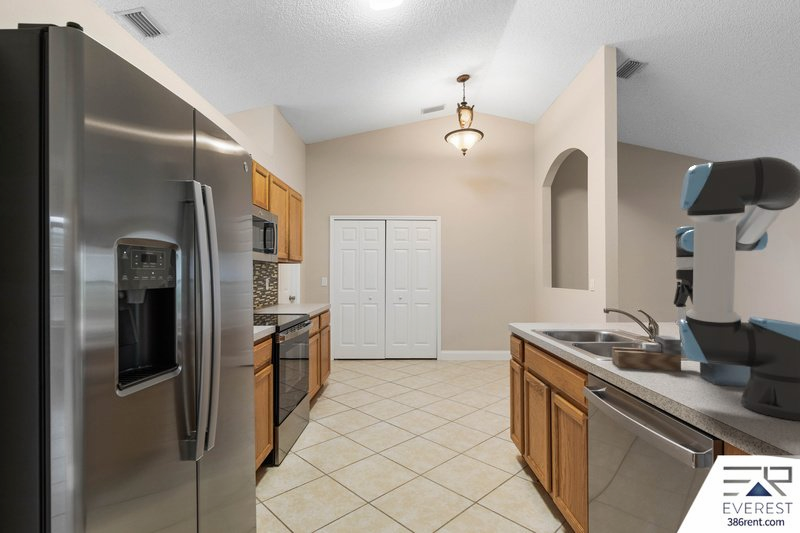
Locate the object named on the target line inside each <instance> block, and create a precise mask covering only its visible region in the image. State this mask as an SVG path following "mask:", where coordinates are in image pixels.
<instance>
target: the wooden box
mask: <svg viewBox="0 0 800 533" xmlns="http://www.w3.org/2000/svg"><path fill="white" fill-rule="evenodd" d="M654 336H655V342H654V343H662V348H663V353H656V352H642V347H641V348H640V347H639V348H638V347H617V346H612V347H611V361H612V363H613V364H614V365H616V367H617V368H624V369H625V368H626V369H639V370H640V369H642V370H658V371H672V372H673V371H675V372H682V356H681V344H682V342H681V339H679V338H676V337H674V336H672V335H661V334H660V335H657V334H656V335H655V334H654Z"/></svg>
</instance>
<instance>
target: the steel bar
mask: <svg viewBox="0 0 800 533" xmlns="http://www.w3.org/2000/svg"><path fill="white" fill-rule="evenodd" d="M641 346H642V347H641V348H642V352H656V353H663V348H662V343H655V342H644V341H643V342H642V343H641ZM682 356H683V357H686V356H685V353H684V350H683V346H682V343H681V357H682Z"/></svg>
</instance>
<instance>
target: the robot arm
mask: <svg viewBox="0 0 800 533" xmlns="http://www.w3.org/2000/svg"><path fill="white" fill-rule="evenodd" d="M684 175H685V176H684V178H683V181H682V182H683V183H682V185H681V190H680V191H681V192H680V204H679V206H680V209H681V210H683V211H686V212H687V214H686V216H687V218H688V219H690V220H691V221H692V222H693V225H694V226H693V225H692V226H681V227H677V228H676V230H675V236H674V238H675V253H676V254H675V268H676V270H675V278H676V280H678V281H676V289H675V295H674V300H673V305H675V307H676V324H677V325H678V328H679V335H680V340H681V344H682V346H683V350H684V353H685V356H684V357H686V359H688V360H689V361H691V362H698V363H700V362H703V363H706V364H708V363H711V364H723V365H734V366H746V367H750V378H749V380H748V382H747V385H746V387H744V390H743V392H742V394H741V405H742V406H743V407H745V408H746V409H749V410H750V411H753V412H756V413H760V414H763V415H767V416H771V417H775V418H779V419H785V420H790V421H798V422H800V323H796V322H792V321H785V320H779V319H773V318H765V317H764V318H763V317H756V316H752V317H751V316H750V317H749V318H748V320H747V321H748V322H744V321H743V322H742V317H741V315H740V314H739V313H737V312H736V311H735V309H734V308H735V280H736V278H735V277H736V276H735V275H736V273H735V272H736V252H752V251H753V252H754V251H763V250H765V248H766V247H767V244H768V242H769V236H768V230H769V229H770V227H771V226H772V225H773V224H774V223H775V221H776V220H777V219H778V218H779V216H780V215H781V214H782V213H783V212H784V210H787V209H790V208H791V207H793V206H794V205H795V204H796V203H797V202H798V201H799V199H800V169H799V168H798V167H797V166H796V165H794V164H793V163H791V162H789V161H788V160H785V159H783V158H779V157H773V156H761V157H755V158H752V157H751V158H744V159H743V158H742V159H735V160H724V161H715V162H707V163H703V164H697V165H693V166H691V167H690V168H689V169H688V170H687V171H686V172H685V174H684ZM688 298H689V299H690V302H691V304H692V308H691V309H689V310H686V308H687V305H686V302H687V300H688Z"/></svg>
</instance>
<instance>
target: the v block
mask: <svg viewBox="0 0 800 533" xmlns="http://www.w3.org/2000/svg"><path fill="white" fill-rule="evenodd" d="M699 377H700V378H702V379H703V380H705V381H707V382H709V383H711V384H713V385H714V386H726V387H743V388H745V387H746V385H747V382H748V380H749V378H750V367H746V366H734V365H723V364H711V363H708V364H706V363H703V362H699Z"/></svg>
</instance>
